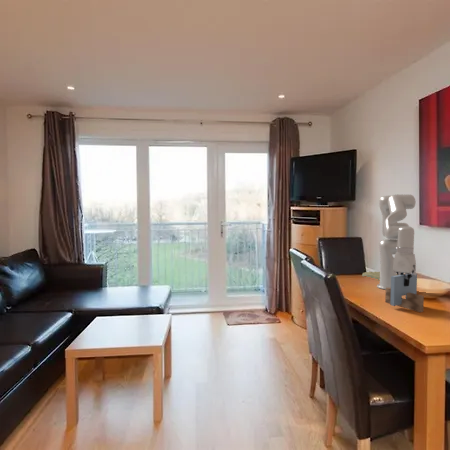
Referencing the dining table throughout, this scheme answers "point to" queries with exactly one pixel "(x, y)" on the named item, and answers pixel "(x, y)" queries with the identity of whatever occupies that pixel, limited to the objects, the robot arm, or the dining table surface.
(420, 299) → the mottled stone notched panel
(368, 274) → the decorative tile
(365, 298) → the dining table surface
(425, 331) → the dining table surface
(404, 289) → the slate slotted plate
